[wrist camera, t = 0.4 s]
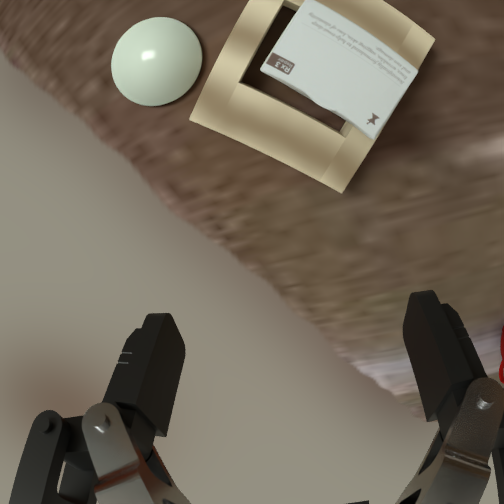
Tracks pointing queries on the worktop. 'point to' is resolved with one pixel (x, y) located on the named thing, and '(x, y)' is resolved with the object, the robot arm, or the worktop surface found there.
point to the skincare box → (340, 67)
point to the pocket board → (284, 115)
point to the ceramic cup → (503, 353)
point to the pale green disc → (156, 61)
